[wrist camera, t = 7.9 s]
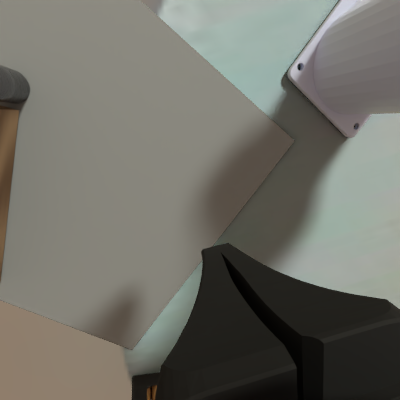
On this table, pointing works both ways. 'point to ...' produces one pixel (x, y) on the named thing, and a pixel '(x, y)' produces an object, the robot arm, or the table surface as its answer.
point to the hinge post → (13, 86)
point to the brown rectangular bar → (6, 167)
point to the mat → (119, 163)
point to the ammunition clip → (144, 386)
